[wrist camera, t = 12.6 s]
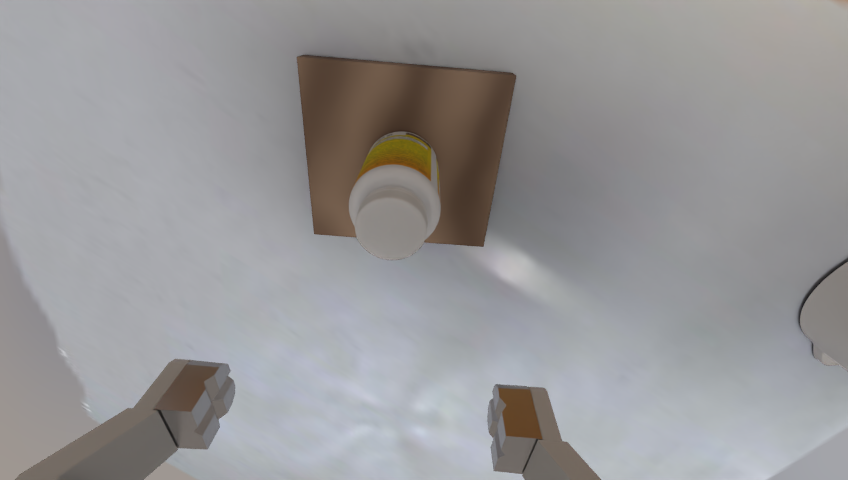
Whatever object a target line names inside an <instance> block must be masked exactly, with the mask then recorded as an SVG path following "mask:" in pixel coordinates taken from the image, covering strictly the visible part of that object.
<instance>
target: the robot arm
mask: <svg viewBox="0 0 848 480" xmlns="http://www.w3.org/2000/svg"><path fill="white" fill-rule="evenodd" d="M800 326H801V329H802V331H803V333H804V334H805V335H806V336H807V337H808V338H809V339H810V340H811V341H812V343H813V344H814V345H813V354H814V357H815V358H816V359H817V360H819V361H820V362H821V363H823V364H824V365H828V366H832V365H840V366H841V367H843V368H844V369H845V370H847V371H848V262H847V263H845V264H844V265H842V266H841V267H839V268H838V269H837V270H835V271H834V272H833V273H831V274H830V275H829V276H828V277H827V278H825V279H824V280H823V281H822V282H821V283H820V284H819V285H818V286H817V287H816V289H815V290H814V291H813V292H812V293H811V295H810V296H809V298H808V299H807V301H806V302H805V304H804V306H803V309H802V312H801V316H800ZM229 373H230V368H229V365H228V364H225V363H215V362H204V361H194V360H184V359H174V360H173V361H171V362H170V363H168V365H167V366H166V367H165V368H164V370H163V371H162V372H161V374H160V375H159V376H158V377H157V379H156V380H155V381H154V382H153V384H152V385H151V386H150V388H149V389H148V390H147V391H146V393H145V394H144V395H143V396H142V398H141V399H140V400H139V402H138V403H137V404H136V405H135V407H134V408H127V409H126V410H124V411H122V412H121V413H119V414H118V415H116V416H114V417H113V418H111V419H109V420H108V421H106V422H104V423H103V424H101V425H100V426H98V427H96V428H95V429H93V430H91V431H90V432H88V433H86V434H85V435H83V436H82V437H80V438H78V439H77V440H75V441H73V442H72V443H70V444H68V445H67V446H65V447H64V448H62V449H60V450H59V451H57V452H55V453H54V454H52V455H51V456H49V457H47V458H46V459H44V460H42V461H41V462H39V463H37V464H36V465H34V466H33V467H31V468H29V469H28V470H26V471H24V472H23V473H21V474H20V475H19V476H18V477H17V478H16V479H15V480H144V479H145V478H146V477H147V476H148V475H149V474H150V473H152V472H153V471H154V470H155V469H156V468H157V467H158V466H160V465H161V464H162V463H163V462H164V461H166V460H167V459H168V458H169V457H170V456H171V455H172V454H174V453H175V452H176V451H177V450H178V449H177V448H189V449H208V448H209V446H210V444H211V442H212V441H213V439H214V437H215V435H216V433H217V431H218V429H219V428H220V425H219V418H221V417H222V416H224V415H225V414H226V413H228V411H229V409H230V407H231V405H232V403H233V399H234V395H235V384H234V380H232V379H231V378H230V377H229V376H228V375H229ZM492 392H493V399H491V400H490V402H489V406H488V416H487V417H488V430H489V433H490V435H491V436H492V437H493V441H492V445H491V454H492V462H493V469H494V471H499V472H509V473H518V474H523V475H522V476H523V478H524V479H525V480H601V479H600V478H599V477H598V476H597V474H596V473H595V472H594V471H593V470H592V469H591V468H590V467H589V466H588V464H587V463H586V462H585V461H584V460H583V459H582V458H581V457H580V456H579V454H578V453H577V452H576V451H575V450H574V449H573V448H572V447H571V446H570V444H569V443H568V442H564V441H562V439H561V436H560V433H559V429H558V426H557V423H556V419H555V416H554V413H553V409H552V406H551V403H550V399H549V396H548V393H547V391H546V389H545V388H540V387H527V386H517V385H501V384H496V385H495V386H494V388H493V391H492Z"/></svg>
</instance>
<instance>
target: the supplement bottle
mask: <svg viewBox="0 0 848 480" xmlns="http://www.w3.org/2000/svg"><path fill="white" fill-rule="evenodd" d="M440 212H441V202H440V182H439V169H438V161H437V157H436V154H435V152H434V150H433V149H432V147H431V146H430V145H429V143H428V142H427V141H425V140H424V139H423V138H421V137H420V136H418V135H416V134H413V133H410V132H402V131H400V132H393V133H389V134H387V135H385V136H383V137H381V138H380V139H378V140H377V141H376V142H375V143H374V145H373V146H372V147H371V149H370V151H369V153H368V155H367V157H366V160H365V162H364V164H363V166H362V169H361V171H360V173H359V175H358V177H357V180H356V182H355V184H354V186H353V189H352V191H351V194H350V198H349V214H350V218H351V220H352V223H353V225H354V226H355V232H356V236H357V239H358V241H359V242H360V244H361V245H362V247H363V248H364V249H365V250H366V251H368V252H369V253H370V254H372V255H374V256H376V257H379V258H382V259H386V260H399V259H403V258H407V257H409V256H411V255H413V254H414V253H415V252H417V251H418V250H419V249H420V248H421V246H422V245H423V243H424V241H425V240H426V239H427V238H428V237H429V236H430V235H431V234H432V233H433V231H434V230H435V228H436V226H437V224H438V222H439V218H440Z"/></svg>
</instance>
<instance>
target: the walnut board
mask: <svg viewBox="0 0 848 480" xmlns="http://www.w3.org/2000/svg"><path fill="white" fill-rule="evenodd" d="M297 63H298V74H299V84H300V94H301V104H302V114H303V125H304V135H305V145H306V155H307V165H308V176H309V186H310V196H311V206H312V216H313V227H314V234H319V235H332V236H346V237H357V236H356V232H355V226H354V225H353V223H352V220H351V218H350V214H349V198H350V194H351V191H352V189H353V186H354V184H355V182H356V180H357V177H358V175H359V173H360V171H361V169H362V166H363V164H364V162H365V160H366V157H367V155H368V153H369V151H370V149H371V147H372V146H373V145H374V143H375V142H376V141H377V140H378V139H380V138H381V137H383V136H385V135H387V134H389V133H393V132H400V131H402V132H410V133H413V134H416V135H418V136H420V137H421V138H423V139H424V140H425V141H427V142H428V143H429V145H430V146H431V147H432V149H433V150H434V152H435V154H436V157H437V161H438V169H439V182H440V202H441V212H440V218H439V222H438V224H437V226H436V228H435V230H434V231H433V233H432V234H431V235H430V236H429V237H428V238H427V239H426V240H425V241H424V242H426V243H440V244H453V245H467V246H480V247H483V246H484V241H485V236H486V230H487V225H488V220H489V215H490V210H491V204H492V199H493V194H494V189H495V184H496V178H497V173H498V168H499V163H500V158H501V153H502V147H503V142H504V137H505V132H506V127H507V121H508V116H509V111H510V106H511V101H512V95H513V90H514V85H515V80H516V75H515V74H513V73H507V72H496V71H484V70H472V69H461V68H449V67H437V66H426V65H414V64H402V63H391V62H379V61H368V60H356V59H344V58H333V57H321V56H309V55H302V56H298V57H297Z"/></svg>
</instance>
